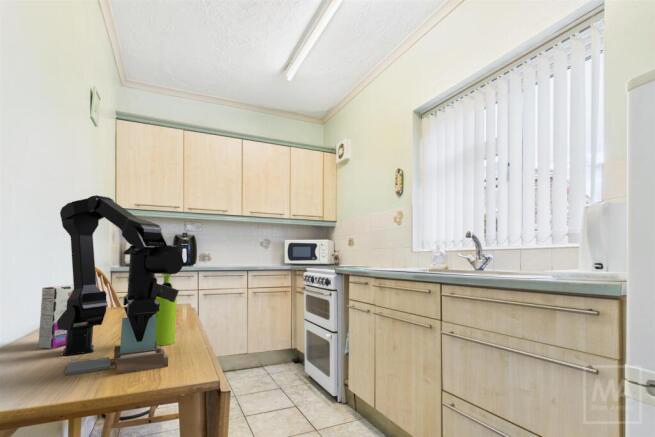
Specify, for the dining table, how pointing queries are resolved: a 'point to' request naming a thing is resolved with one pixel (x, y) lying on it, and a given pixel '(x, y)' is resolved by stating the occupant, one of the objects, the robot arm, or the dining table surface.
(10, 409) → the dining table surface
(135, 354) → the gray notched block
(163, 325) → the soap dispenser
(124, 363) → the walnut rack
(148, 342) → the light blue rectangular prism
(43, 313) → the candy bar box
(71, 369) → the slate mat
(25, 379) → the dining table surface
